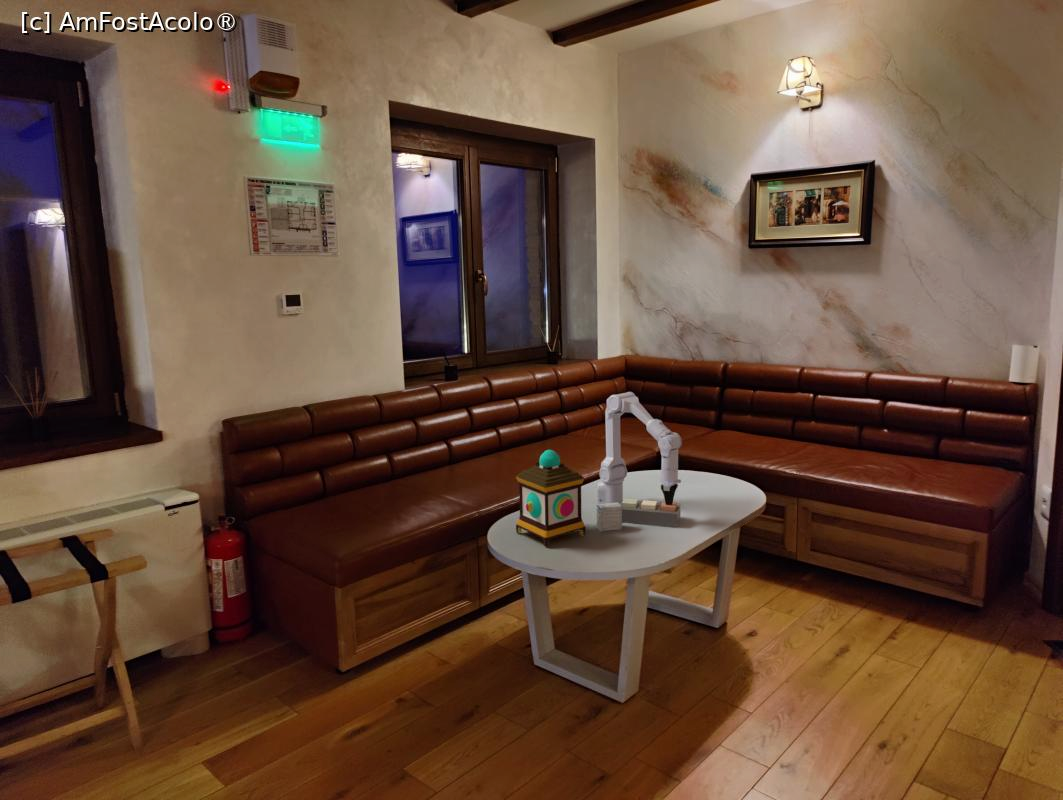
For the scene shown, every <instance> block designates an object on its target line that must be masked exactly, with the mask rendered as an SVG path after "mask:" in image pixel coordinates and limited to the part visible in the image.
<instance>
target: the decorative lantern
mask: <svg viewBox="0 0 1063 800" xmlns="http://www.w3.org/2000/svg"><path fill="white" fill-rule="evenodd" d="M538 461H539V462H536V463H535V465H532V466H531V467H529V468H528V469H523V470H522V471H521V472H519V473H518V474H517V475H515V479H516V480H517V482H518V491H519V518H518V520H517V522H516V525H515V530H516V533H517V534H518V533H520V532H521V533H522V530H524V531H526V532H528V533H529V534H532V535H535V536H536V537H539V538H540V539H541V540H542V541H543V544H544V547H545V548H548V547H549V543H550V540H552V539H553V538H557V537H562V536H564V535H568V534H571V533H574V532H578V531H579V532H580V535H581V537H585V536H586V533H587V530H586V525H585V523H584V521H583V517H582V484H583V482H584V480H585V477H584V476H583V475H582V474H580V473H579V472H578V471H576V470H573V469H570V468H568V467H567V466H566V465H565V464H564V463H562V462H561V458H560V456H559V454H558V453H557V452H556V451H554V450H552V449H547V450H544V452H543V453H541V455H540V457H539V460H538ZM521 533H520V534H521Z"/></svg>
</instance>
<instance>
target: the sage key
mask: <svg viewBox="0 0 1063 800" xmlns="http://www.w3.org/2000/svg"><path fill="white" fill-rule="evenodd" d="M638 501H639V499H635V498H623V501H622V507H625V508H637V506H638Z"/></svg>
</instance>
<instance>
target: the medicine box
mask: <svg viewBox="0 0 1063 800" xmlns="http://www.w3.org/2000/svg"><path fill="white" fill-rule="evenodd" d="M622 526H623V525H622V506H621V505H620V504H619V503H605V504H598V503H597V504H596V528H597V529H598V531H599V532H607V531H617V530H623V527H622Z"/></svg>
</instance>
